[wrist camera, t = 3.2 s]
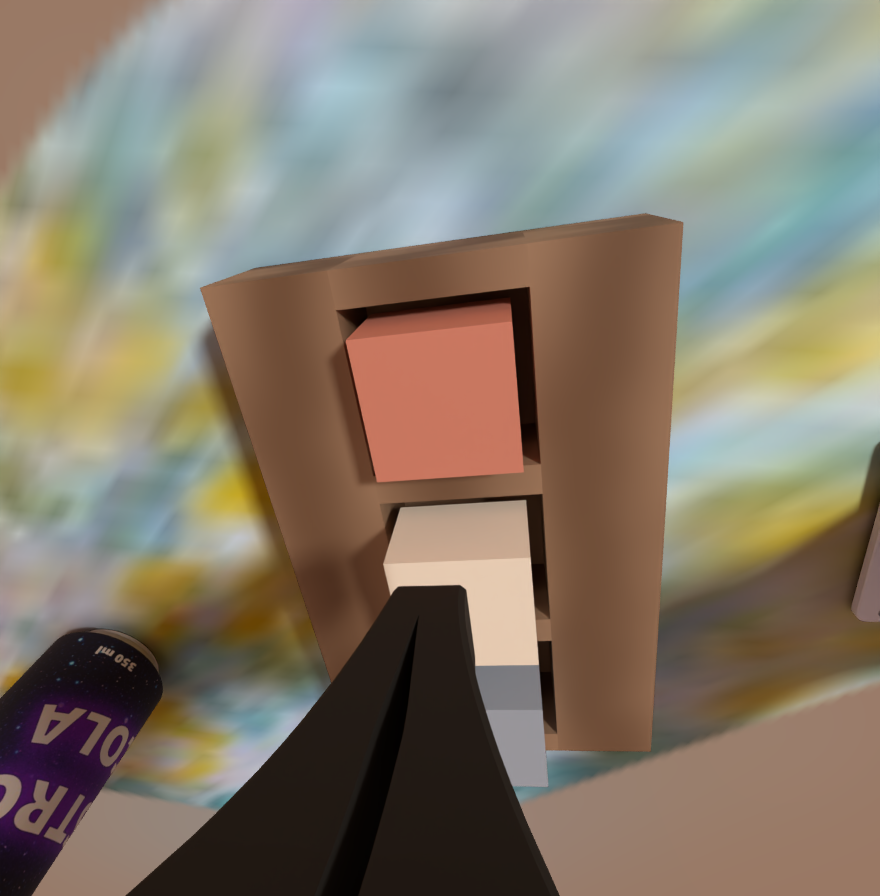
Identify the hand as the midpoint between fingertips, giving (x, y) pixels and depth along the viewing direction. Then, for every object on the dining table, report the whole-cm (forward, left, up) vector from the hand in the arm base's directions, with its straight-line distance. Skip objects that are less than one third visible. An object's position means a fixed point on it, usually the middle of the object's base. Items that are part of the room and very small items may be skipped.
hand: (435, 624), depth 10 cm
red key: (0, -3, -7) cm, 8 cm away
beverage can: (+19, +11, -10) cm, 24 cm away
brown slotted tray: (0, +3, -9) cm, 10 cm away
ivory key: (0, +3, -6) cm, 7 cm away
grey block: (0, +9, -6) cm, 11 cm away
